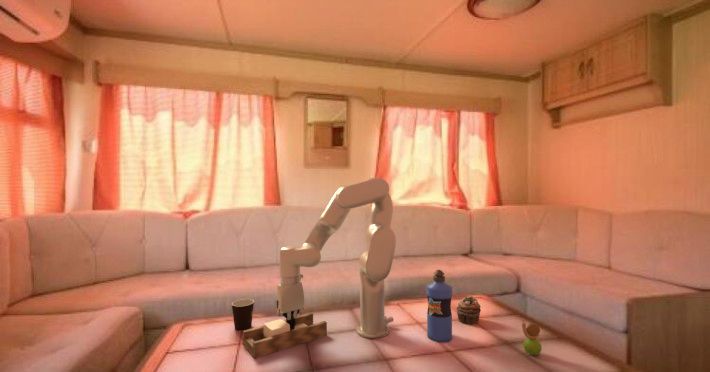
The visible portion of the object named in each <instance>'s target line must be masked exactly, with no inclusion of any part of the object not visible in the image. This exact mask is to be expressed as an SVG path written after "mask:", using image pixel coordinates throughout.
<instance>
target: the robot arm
mask: <svg viewBox="0 0 710 372" xmlns="http://www.w3.org/2000/svg"><path fill="white" fill-rule="evenodd" d="M393 204H394V203H393V200H392V198H391V195H390V185H389V183H388V181H387V180H386V179H384V178H382V177H369V178H367V179H366V180H364V181H361V182H358V183H354V184H350V185H342V186H340V187H339V188H338V189H337V190H336V191H335V192H334V195H333V196H331V199H330V200H329V202H328V204H327V206H326V208H325V209H324V210H323V212H322V214H321V215H320V217H319V218H318V220H317V222H316V224H315V225H314V226H313V228H312V229H311V231H310V232H309V234H308V236H307V237H306V239H305V241H304V243H303V244H302V246H301V248H299V247H298V246H296V245H289V246H288V245H287V246H283V247H281V248H280V249H279V283H278V284H277V288H276V292H275V310H276V316H277V317H284V318H285V320H286V322H287V323H288V324H289V325H290V330H292V329H293V330H294V329H295V318H296V317H297V316H299V315H298V314H299V313H301V312H302V311H304V310H305V292H304V286H303V283H302V281H301V280H302V279H303V278H304V275H303V274H301V267H303V268H314V267H316V266H318V265H319V264H320V262H321V259H322V255H321V250H323V248H324V246H325V245H326V243H327V241H328V240H329V239H330V238H331V236H332V235H333V234H335V233H337V231H339V230H340V228H341V227H342V225H343V223H344V221H345V220H346V218H347V216H348V215H349V213H350V211H351V210H352V209H357V208H361V207H365V206H366V205H370V207H371V208H370V214H369V221H368V225H367V230H366V233H365V239H366V241H367V243H368V245H369V247H368V248H369V249H367V250H365V251H363V252H362V253H361V254H360V257H359V259H358V272H359V304H360V305H359V306H360V307H359V308H360V309H359V312H360V314H359V321H360V322H359V324H358V325H357V326H356V328H355V329H356V333H357V335H359V336H361V337H363V338H367V339H378V338H382V337H385V336H387V335H388V334H389V332H390V331H389V326H388V324H389V323H393V322H394V317H393V316H388V317H387V316H386V315H385V280H386V279H387V278H388V277H389V275H390V272H391V269H392V265H393V260H394V255H395V250H396V246H397V240H396V239H397V238H396V233H395V232H394V230H393V229H392V228H391V225H392V218H393V210H394V205H393Z"/></svg>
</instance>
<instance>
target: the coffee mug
mask: <svg viewBox="0 0 710 372" xmlns="http://www.w3.org/2000/svg"><path fill="white" fill-rule="evenodd" d="M254 304H255V300H254V299H251V298H242V299H237V300H235V301H232V302H231V309H232V310H231V311H232V316H233V325H234V330H236V331H242V332H243V331H245V330H249V329H252V323H253V314H254V307H255V306H254Z"/></svg>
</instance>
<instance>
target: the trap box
mask: <svg viewBox="0 0 710 372" xmlns="http://www.w3.org/2000/svg"><path fill="white" fill-rule="evenodd" d="M283 320H284V321H285V322H286V319H283ZM327 328H328V323H327V321H325V320H324V321H320V322H316V323H314V313H313V312H309V313H305V314H301V315H297V317H296V318H295V329H294V330H293V329H292V330H290V331H289V332H285V333H282V334H279V335H275V336H272V337H268V338H267V337H266V336H265V335H264V325H261V326H258V327H251V328H249V329H247V330H243V331H242V345H243V346H244V348H245V349H246V350H247V352H248V353H249V354H250V355H251V356H252V357H253V358H254V359H258V358H261V357H265V356H267V355H270V354H273V353H277V352H280V351H283V350H286V349H289V348H292V347H296V346H298V345H301V344H304V343H308V342H311V341H313V340H317V339H320V338H323V337H326V336H328V329H327Z"/></svg>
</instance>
